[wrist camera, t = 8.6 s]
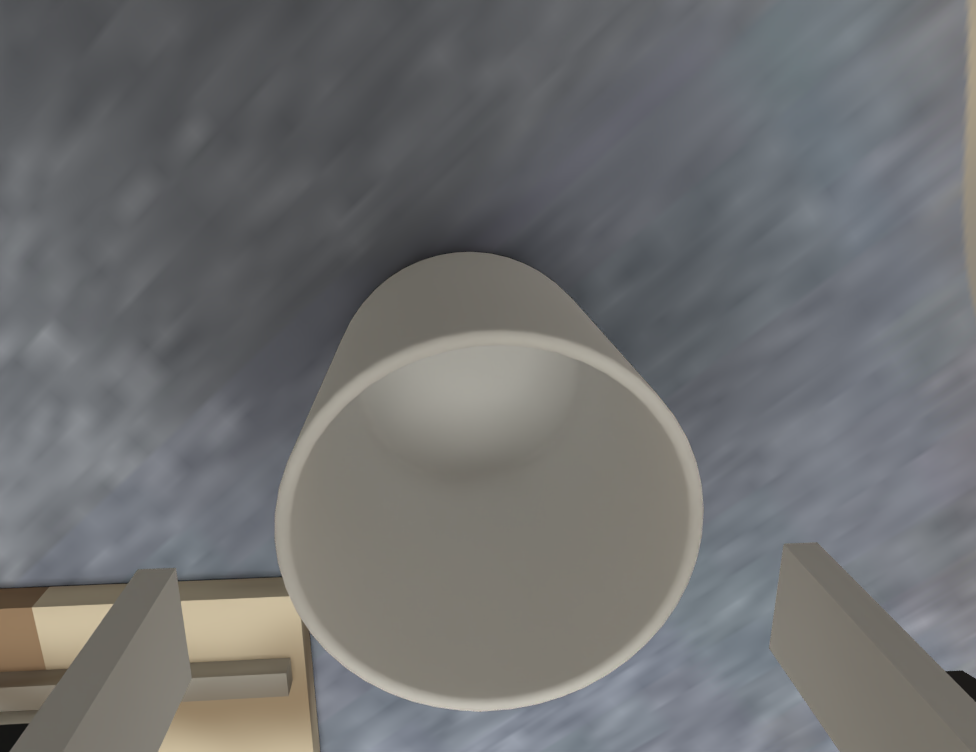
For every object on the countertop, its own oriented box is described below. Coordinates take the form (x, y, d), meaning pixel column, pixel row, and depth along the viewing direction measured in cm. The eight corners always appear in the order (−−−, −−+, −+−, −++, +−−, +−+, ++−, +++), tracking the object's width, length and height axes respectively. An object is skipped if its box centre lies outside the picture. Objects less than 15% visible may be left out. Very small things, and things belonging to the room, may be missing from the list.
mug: (345, 570, 26) (293, 839, 16) (335, 243, 23) (258, 326, 13) (575, 567, 27) (662, 822, 17) (601, 249, 23) (733, 333, 13)
